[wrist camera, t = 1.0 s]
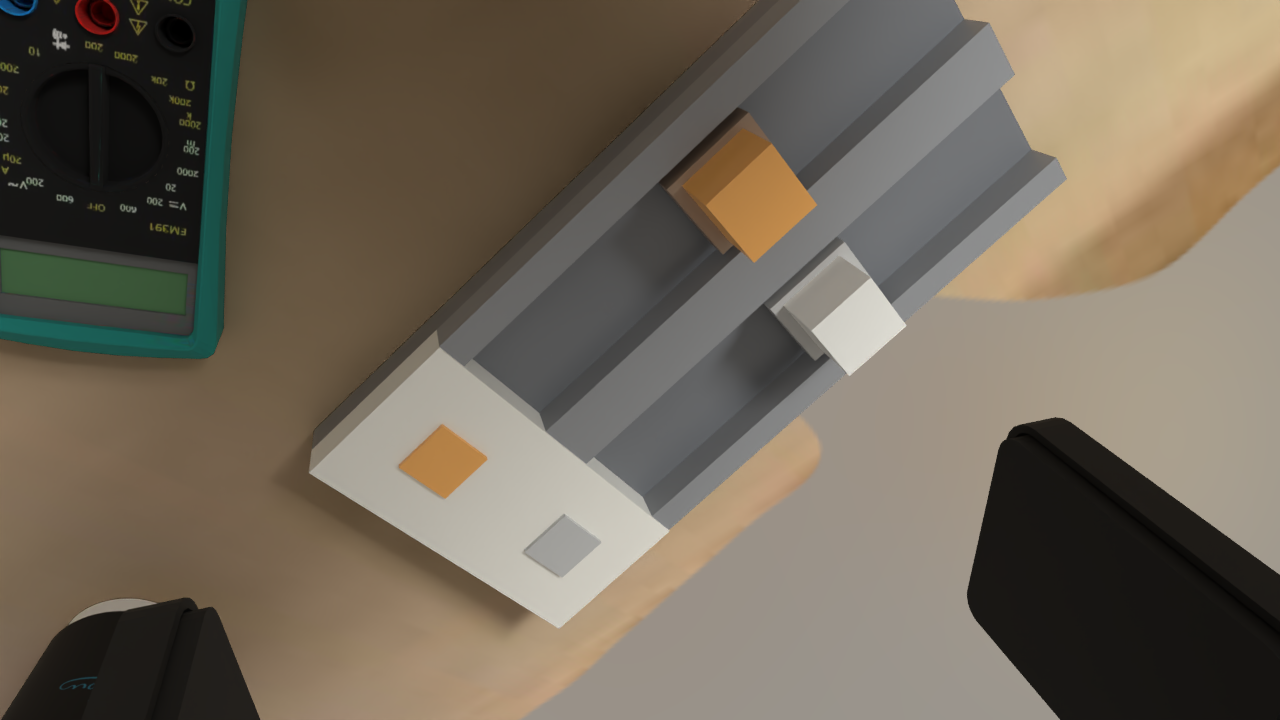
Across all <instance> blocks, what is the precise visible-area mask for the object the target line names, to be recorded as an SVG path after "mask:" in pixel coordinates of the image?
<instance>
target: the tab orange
mask: <svg viewBox="0 0 1280 720" xmlns="http://www.w3.org/2000/svg"><path fill="white" fill-rule="evenodd" d="M658 183H659V184H660V185H661V186H662V188H663V189H664V190H665V191H666V192H667V193H668V194H669V196H670V197H671V198H672V199H673V200H674V201H675V202H676V204H677V205H678V206H679V207H680V208H681V209H682V211H683V212H684V213H685V214H686V215H687V216H688V217H689V219H690V220H691V221H692V222H693V223H694V224H695V225H696V227H697V228H698V229H699V230H700V231H701V232H702V234H703V235H704V236H705V237H706V238H707V239H708V240H709V242H710V243H711V244H712V245H713V246H714V247H715V248H716V249H717V250H719V251H720V252H721V253H722V254H724V253H725V252H726V251H727V250H729V249H730V248H731V247H732V246H733V245H734V246H735V247H736V248H737V249H739V250H740V251H741V252H742V253H743V254H744V255H745V256H747V257H748V258H749V259H750V260H751V261H752V262H754V263H755V262H756V261H757V260H758V259H759V258H760V257H761V256H762V255H763V254H764V253H766V252H767V251H768V250H769V249H770V248H771V247H772V246H773V245H774V244H775V243H776V242H777V241H779V240H780V239H781V238H782V237H783V236H784V235H785V234H786V233H787V232H788V231H789V230H791V229H792V228H793V227H794V226H795V225H796V224H797V223H798V222H799V221H800V220H801V219H803V218H804V217H805V216H806V215H807V214H808V213H809V212H810V211H811V210H812V209H813V208H815V207H816V206H817V204H816V203H815V201H814V200H813V198H812V197H811V196H810V194H809V193H808V192H807V190H806V189H805V188H804V186H803V185H802V184H801V182H800V181H799V180H798V178H797V177H796V175H795V174H794V173H793V171H792V170H791V169H790V167H789V166H788V165H787V163H786V162H785V161H784V159H783V158H782V157H781V155H780V154H779V152H778V151H777V150H776V148H775V147H774V146H773V144H772V143H771V142H770V140H769V139H768V138H767V136H766V135H765V134H764V132H763V131H762V130H761V128H760V127H759V126H758V124H757V123H756V122H755V120H754V119H753V117H752V116H751V115H750V113H749V112H747V111H745V110H743V109H741V108H739V107H737V108H736V109H735V110H734V111H733V112H732V113H731V114H729V115H728V116H727V117H726V118H725V119H724V120H723V121H722V122H721V123H720V124H719V125H718V126H717V127H716V128H715V129H714V130H713V131H712V132H711V133H709V134H708V135H707V136H706V137H705V138H704V139H703V140H702V141H701V142H700V143H699V144H698V145H697V146H696V147H695V148H694V149H693V150H692V151H691V152H689V153H688V154H687V155H686V156H685V157H684V158H683V159H682V160H681V161H680V162H679V163H678V164H677V165H676V166H675V167H674V168H673V169H672V170H671V171H669V172H668V173H667V174H666V175H665V176H664V177H663V178H662V179H661V180H660V181H659V182H658Z"/></svg>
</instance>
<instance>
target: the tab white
mask: <svg viewBox="0 0 1280 720" xmlns="http://www.w3.org/2000/svg"><path fill="white" fill-rule="evenodd" d="M763 304H764V305H765V306H766V307H767V308H768V310H769V311H770V312H771V313H772V314H773V315H774V316H775V318H776V319H777V320H778V321H779V322H780V323H781V324H782V326H783V327H784V328H785V329H786V330H787V331H788V333H789V334H790V335H791V336H792V337H793V338H794V339H795V341H796V342H797V343H798V344H799V345H800V346H801V348H802V349H803V350H804V351H805V352H806V353H807V354H808V355H810V356H811V357H812V358H813V359H814V360H815V361H816V360H817V359H818V358H819V357H820V356H821V355H822V354H824V353H825V354H826V355H827V356H828V357H830V358H831V359H832V360H833V361H834V362H835V363H836V364H837V365H838V366H839V367H840V368H841V369H842V370H844V371H845V372H846V373H847V374H848V375H849V376H850V375H851V374H852V373H853V372H854V371H856V370H857V369H858V368H859V367H860V366H861V365H862V364H864V363H865V362H866V361H867V360H868V359H869V358H870V357H872V356H873V355H874V354H875V353H876V352H877V351H878V350H880V349H881V348H882V347H883V346H884V345H885V344H886V343H887V342H888V341H890V340H891V339H892V338H893V337H894V336H895V335H897V334H898V333H899V332H900V331H901V330H902V329H903V328H905V327H906V324H905V323H904V321H903V320H902V319H901V317H900V316H899V315H898V313H897V312H896V311H895V309H894V308H893V307H892V305H891V304H890V303H889V301H888V300H887V298H886V297H885V296H884V294H883V293H882V292H881V290H880V289H879V288H878V286H877V285H876V284H875V282H874V281H873V280H872V278H871V277H870V276H869V274H868V273H867V272H866V270H865V269H864V268H863V266H862V265H861V263H860V262H859V261H858V259H857V258H856V257H855V255H854V254H853V253H852V251H851V250H850V249H849V247H848V246H847V245H846V243H845V242H844V241H842V240H841V239H839V238H838V237H836V238H835V239H833V240H832V241H831V242H830V243H829V244H828V245H827V246H826V247H825V248H823V249H822V250H821V251H820V252H819V253H818V254H817V255H816V256H815V257H814V258H812V259H811V260H810V261H809V262H808V263H807V264H806V265H805V266H804V267H803V268H801V269H800V270H799V271H798V272H797V273H796V274H795V275H794V276H793V277H792V278H790V279H789V280H788V281H787V282H786V283H785V284H784V285H783V286H782V287H781V288H779V289H778V290H777V291H776V292H775V293H774V294H773V295H772V296H771V297H770V298H768V299H767V300H766V301H765V302H764V303H763Z"/></svg>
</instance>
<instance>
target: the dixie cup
mask: <svg viewBox="0 0 1280 720" xmlns="http://www.w3.org/2000/svg"><path fill="white" fill-rule="evenodd" d="M152 604H157V603H155V602H152V601H147V600H142V599H115V600H109V601H105V602H101V603H98V604H95V605H93V606H91V607H89V608H87V609H85V610H83V611H82V612H80V613H79V614H78V615H77V616H75V617H74V618H73V619H72V621H71V622H70V623H69V625H68V626H67V627H65V628H64V629H63V630H61V631H60V632H59V633H58V634H57V635H56V636H55V637H54V638H53V640H52V641H51V643H50V644H49V646H48V647H47V649H46V650H45V652H44V653H43V655H42V657H41V658H40V660H39V661H38V663H37V664H36V666H35V668H34V669H33V671H32V672H31V674H30V675H29V677H28V679H27V680H26V682H25V683H24V685H23V686H22V688H21V689H20V691H19V693H18V694H17V696H16V697H15V699H14V700H13V702H12V704H11V705H10V707H9V708H8V710H7V711H6V713H5V715H4V716H3V718H2V719H1V720H81V719H82V716H83V714H84V711H85V708H86V706H87V703H88V700H89V698H90V695H91V692H92V690H93V687H94V684H95V682H96V679H97V676H98V674H99V671H100V668H101V666H102V663H103V660H104V658H105V655H106V652H107V650H108V647H109V644H110V642H111V639H112V636H113V634H114V631H115V628H116V626H117V623H118V621H119V619H120V617H121V615H122V614H123V613H124V612H125V611H126V610H128V609H133V608H138V607H143V606H147V605H152Z"/></svg>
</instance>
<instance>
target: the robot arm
mask: <svg viewBox="0 0 1280 720" xmlns="http://www.w3.org/2000/svg"><path fill="white" fill-rule="evenodd" d="M967 599H968V604H969V608H970V610H971V612H972V614H973V616H974V618H975V619H976V621H977V622H978V623H979V624H980V626H981V627H982V628H983V629H984V630H985V631H986V633H987V634H988V635H989V636H990V637H991V639H992V640H993V641H994V642H995V643H996V644H997V646H998V647H999V648H1000V649H1001V650H1002V652H1003V653H1004V654H1005V655H1006V656H1007V657H1008V659H1009V660H1010V661H1011V662H1012V663H1013V664H1014V666H1015V667H1016V668H1017V669H1018V670H1019V671H1020V673H1021V674H1022V675H1023V676H1024V677H1025V678H1026V680H1027V681H1028V682H1029V683H1030V685H1031V686H1032V687H1033V688H1034V689H1035V690H1036V692H1037V693H1038V694H1039V695H1040V696H1041V698H1042V699H1043V700H1044V701H1045V702H1046V703H1047V705H1048V706H1049V707H1050V708H1051V709H1052V710H1053V712H1054V713H1055V714H1056V715H1057V716H1058V718H1059V719H1060V720H1280V575H1279V574H1278V573H1276V572H1275V571H1274V570H1272V569H1271V568H1269V567H1268V566H1267V565H1265V564H1264V563H1263V562H1261V561H1260V560H1259V559H1257V558H1256V557H1254V556H1253V555H1252V554H1250V553H1249V552H1248V551H1246V550H1245V549H1243V548H1242V547H1241V546H1239V545H1238V544H1237V543H1235V542H1234V541H1232V540H1231V539H1230V538H1228V537H1227V536H1225V535H1224V534H1223V533H1221V532H1220V531H1219V530H1217V529H1216V528H1215V527H1213V526H1212V525H1211V524H1209V523H1208V522H1206V521H1205V520H1204V519H1202V518H1201V517H1200V516H1198V515H1197V514H1196V513H1194V512H1193V511H1191V510H1190V509H1189V508H1187V507H1186V506H1185V505H1183V504H1182V503H1180V502H1179V501H1178V500H1176V499H1175V498H1174V497H1172V496H1171V495H1169V494H1168V493H1167V492H1165V491H1164V490H1163V489H1161V488H1160V487H1158V486H1157V485H1156V484H1154V483H1153V482H1152V481H1150V480H1149V479H1148V478H1146V477H1145V476H1143V475H1142V474H1141V473H1139V472H1138V471H1137V470H1135V469H1134V468H1132V467H1131V466H1130V465H1128V464H1127V463H1126V462H1124V461H1123V460H1122V459H1120V458H1119V457H1117V456H1116V455H1115V454H1113V453H1112V452H1111V451H1109V450H1108V449H1106V448H1105V447H1104V446H1102V445H1101V444H1100V443H1098V442H1097V441H1095V440H1094V439H1093V438H1091V437H1090V436H1089V435H1087V434H1086V433H1085V432H1083V431H1082V430H1080V429H1079V428H1078V427H1076V426H1075V425H1074V424H1072V423H1071V422H1069V421H1067V420H1065V419H1063V418H1056V417H1055V418H1050V419H1045V420H1041V421H1036V422H1031V423H1026V424H1022V425H1018V426H1015V427H1013V429H1012V430H1011V431H1010V432H1009V434H1008V437H1007V439H1006V440H1004V441H1003V442H1002V443H1001V445H1000V447H999V450H998V455H997V459H996V463H995V468H994V473H993V477H992V481H991V486H990V491H989V495H988V500H987V504H986V509H985V514H984V518H983V522H982V527H981V531H980V536H979V541H978V545H977V550H976V554H975V559H974V563H973V568H972V572H971V576H970V581H969V586H968V590H967ZM81 720H260V718H259V715H258V713H257V710H256V708H255V705H254V703H253V700H252V698H251V695H250V693H249V690H248V688H247V685H246V683H245V680H244V678H243V675H242V673H241V670H240V668H239V665H238V663H237V660H236V658H235V655H234V653H233V650H232V648H231V645H230V643H229V640H228V638H227V635H226V633H225V630H224V628H223V625H222V623H221V620H220V618H219V615H218V614H217V612H216V610H215V609H214V608H213V607H208V608H204V609H199V610H198V608H197V606H196V604H195V602H194V601H193V600H192V599H190V598H181V599H176V600H172V601H167V602H162V603H157V604H152V605H147V606H143V607H138V608H133V609H128V610H126V611H125V612H124V613H123V614H122V615H121V617H120V619H119V621H118V623H117V626H116V628H115V631H114V634H113V636H112V639H111V642H110V644H109V647H108V650H107V652H106V655H105V658H104V660H103V663H102V666H101V668H100V671H99V674H98V676H97V679H96V682H95V684H94V687H93V690H92V692H91V695H90V698H89V700H88V703H87V706H86V708H85V711H84V714H83V716H82V719H81Z"/></svg>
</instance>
